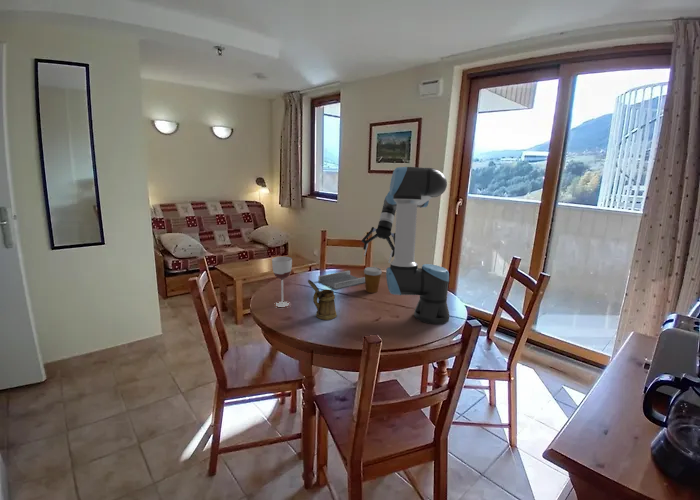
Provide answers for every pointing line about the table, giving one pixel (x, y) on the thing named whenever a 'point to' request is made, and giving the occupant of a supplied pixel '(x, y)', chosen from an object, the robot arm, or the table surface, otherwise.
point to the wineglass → (282, 273)
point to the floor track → (340, 280)
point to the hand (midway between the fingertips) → (376, 259)
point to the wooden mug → (324, 303)
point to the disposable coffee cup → (372, 279)
